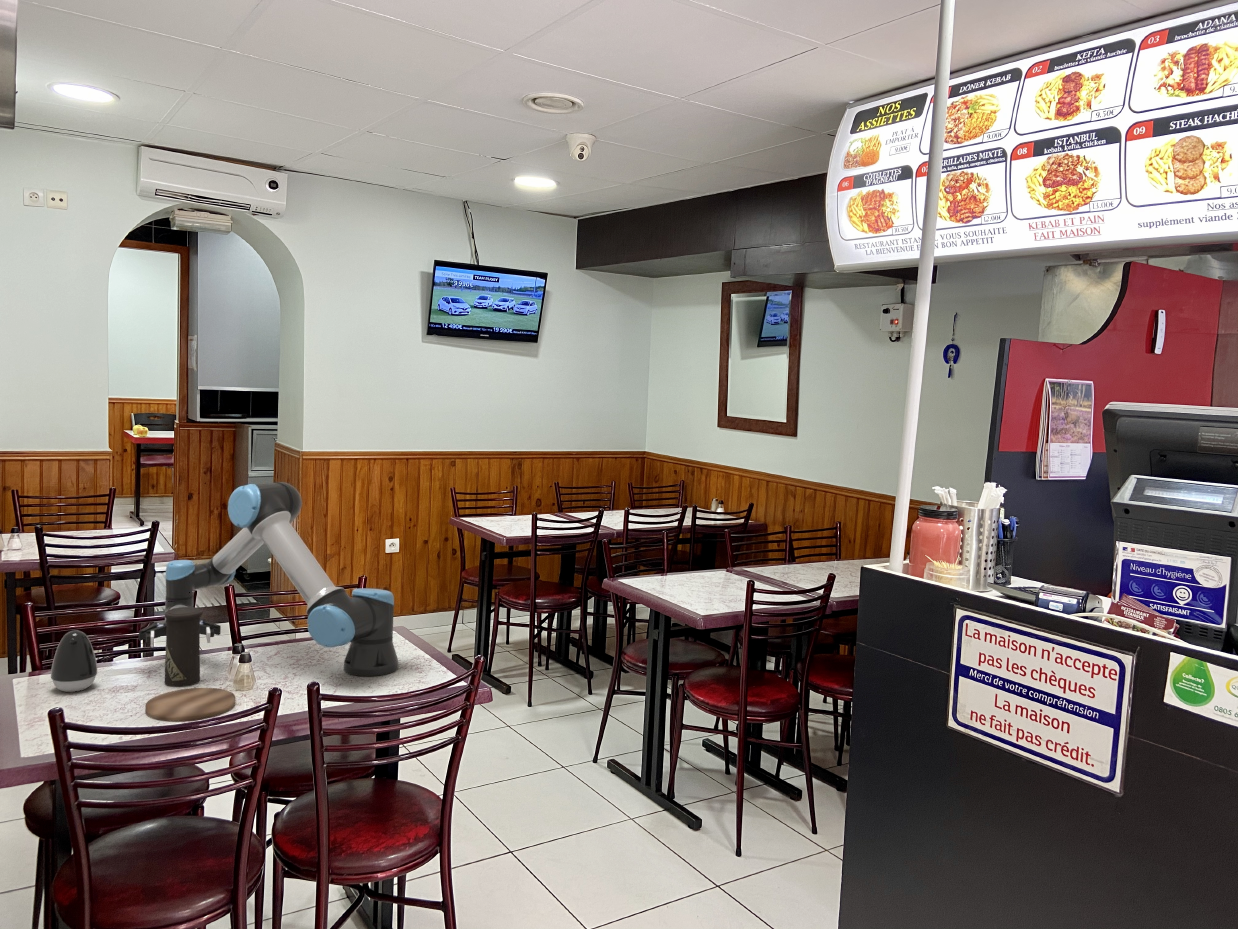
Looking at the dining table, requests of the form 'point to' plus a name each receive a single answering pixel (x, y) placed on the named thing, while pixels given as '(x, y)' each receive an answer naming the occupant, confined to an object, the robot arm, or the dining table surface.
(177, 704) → the round wooden board
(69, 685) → the black egg shaped device
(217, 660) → the dining table surface
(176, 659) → the container
